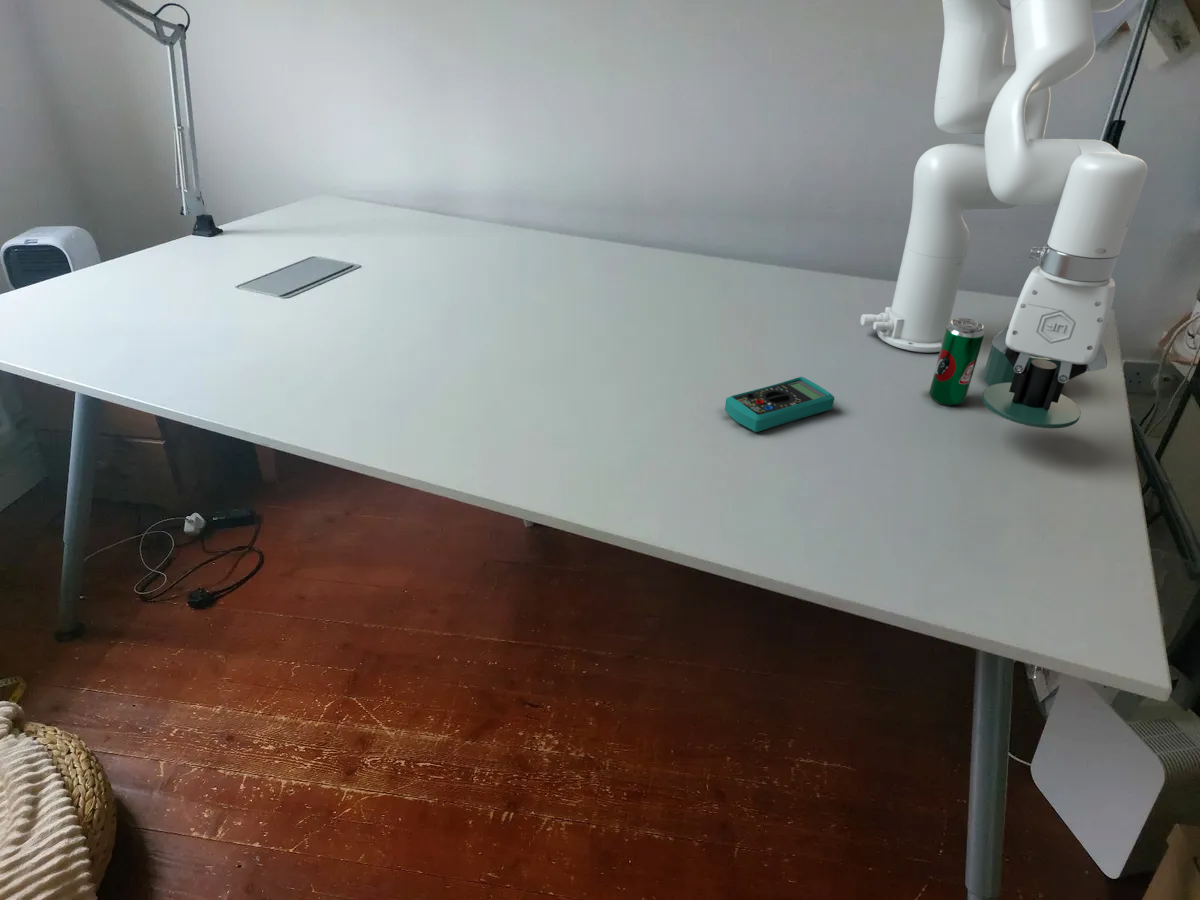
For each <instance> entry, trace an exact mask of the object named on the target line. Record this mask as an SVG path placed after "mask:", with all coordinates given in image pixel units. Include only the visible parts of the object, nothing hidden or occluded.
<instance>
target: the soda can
mask: <svg viewBox="0 0 1200 900" xmlns="http://www.w3.org/2000/svg"><path fill="white" fill-rule="evenodd" d="M984 336H985V332H984V324H982V323H981V322H979V321H977V320H974V319H971V318H963V317H958V318H953V319H950V322H949V325H948V326H947V327H946V330H945V334H944V338H943V342H942V345H941V349H940V352H938V358H937V361H936V365H935V369H934V371H933V377H932V381H931V384H930V387H929V392H928V394H929V396H930V398H931V400H933V401H934V402H935V403H937V404H940V405H941V406H949V407H955V406H959V405H961V404H963V403H965V401H966V399H967V395H968V392H969V389H970V385H971V382H972V378H973V375H974V371H975V368H976V365H977V361H978V357H979V354H980V351H981V347H982V345H983V341H984Z"/></svg>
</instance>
